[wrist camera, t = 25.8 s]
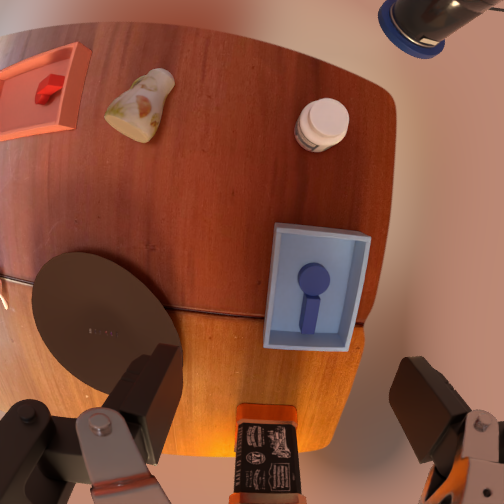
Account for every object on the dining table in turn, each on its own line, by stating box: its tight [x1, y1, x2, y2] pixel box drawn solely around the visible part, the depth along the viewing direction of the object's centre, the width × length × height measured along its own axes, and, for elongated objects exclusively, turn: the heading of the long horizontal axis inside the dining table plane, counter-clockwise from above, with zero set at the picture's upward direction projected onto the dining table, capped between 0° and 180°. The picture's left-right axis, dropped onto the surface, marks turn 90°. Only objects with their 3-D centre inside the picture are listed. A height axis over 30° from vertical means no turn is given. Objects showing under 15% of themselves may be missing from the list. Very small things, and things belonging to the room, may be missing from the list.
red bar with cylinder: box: [35, 74, 65, 105], centre depth 29 cm, size 9×4×3 cm, turn 84°
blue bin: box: [263, 222, 371, 351], centre depth 36 cm, size 15×11×4 cm
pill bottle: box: [294, 98, 349, 152], centre depth 29 cm, size 5×5×9 cm
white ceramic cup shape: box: [104, 68, 175, 143], centre depth 30 cm, size 8×10×10 cm
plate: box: [32, 252, 183, 395], centre depth 39 cm, size 28×28×4 cm
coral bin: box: [0, 42, 92, 141], centre depth 30 cm, size 23×13×4 cm, turn 84°
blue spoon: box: [298, 262, 330, 334], centre depth 36 cm, size 9×4×3 cm, turn 175°
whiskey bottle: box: [229, 403, 307, 504], centre depth 28 cm, size 10×10×32 cm
